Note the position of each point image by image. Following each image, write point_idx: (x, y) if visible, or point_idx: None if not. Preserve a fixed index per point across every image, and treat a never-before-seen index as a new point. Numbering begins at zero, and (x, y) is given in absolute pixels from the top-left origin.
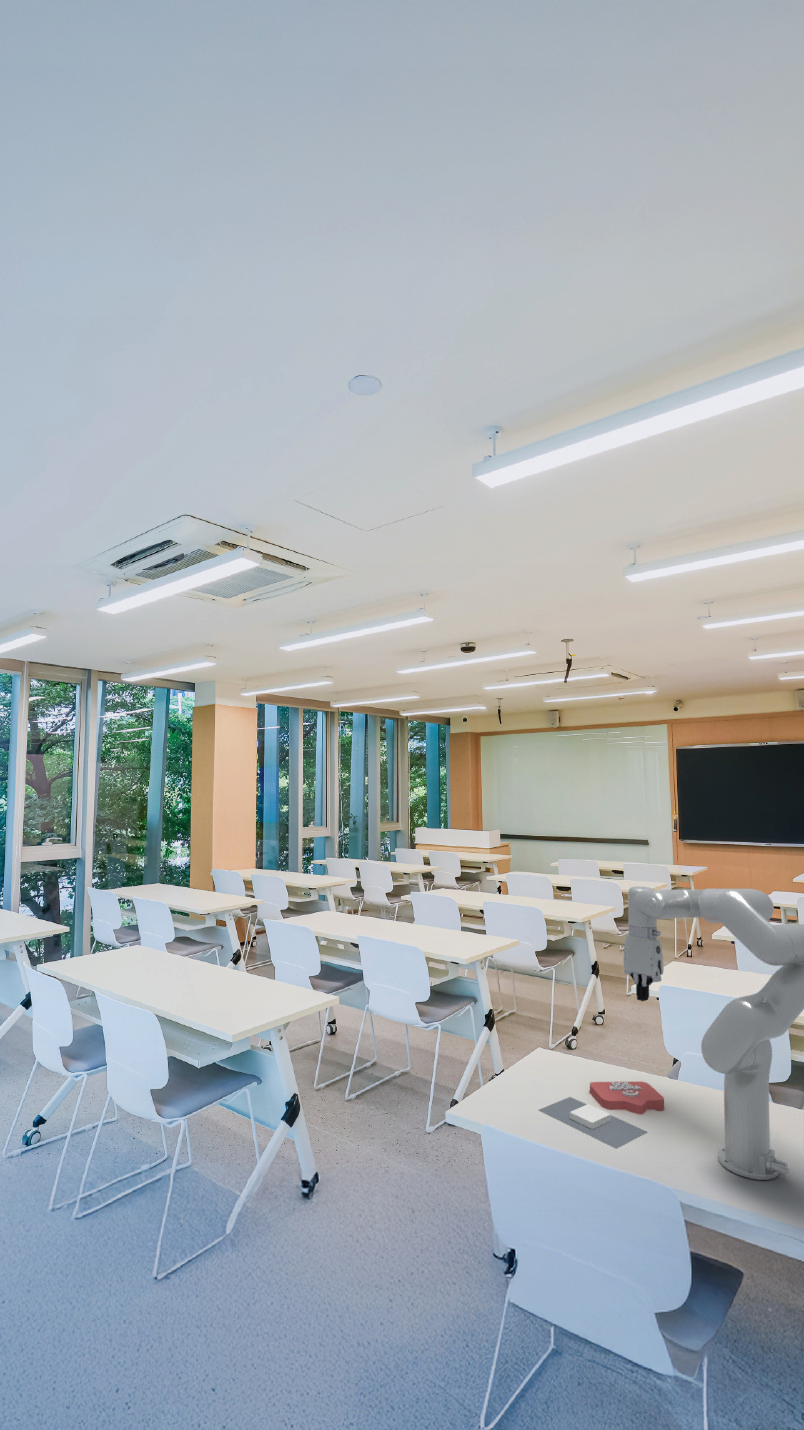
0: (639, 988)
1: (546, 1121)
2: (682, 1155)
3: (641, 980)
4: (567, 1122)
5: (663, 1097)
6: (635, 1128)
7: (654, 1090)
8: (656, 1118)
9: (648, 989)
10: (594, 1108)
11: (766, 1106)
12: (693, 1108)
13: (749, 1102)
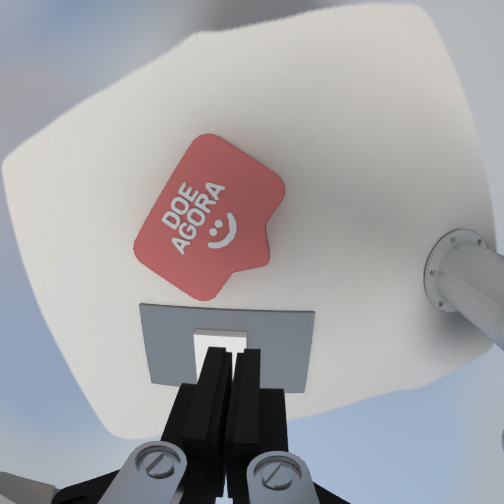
0: (224, 484)
1: None
2: (382, 325)
3: (184, 498)
4: None
5: (279, 177)
6: (292, 319)
7: (245, 160)
8: (293, 238)
9: (286, 443)
10: (212, 340)
11: None
12: (320, 124)
13: None
